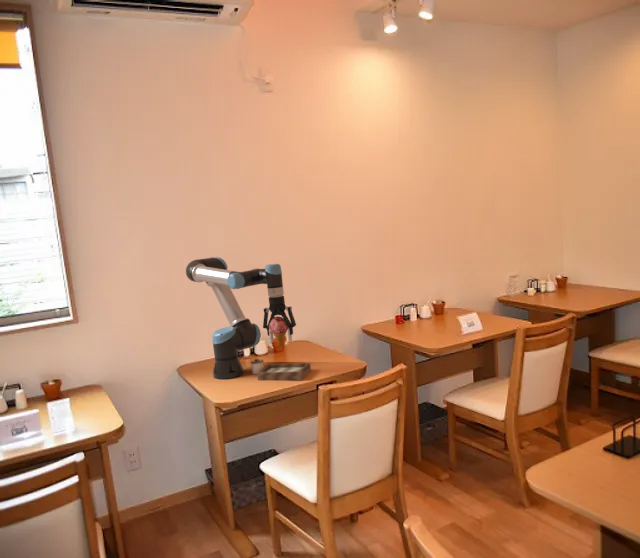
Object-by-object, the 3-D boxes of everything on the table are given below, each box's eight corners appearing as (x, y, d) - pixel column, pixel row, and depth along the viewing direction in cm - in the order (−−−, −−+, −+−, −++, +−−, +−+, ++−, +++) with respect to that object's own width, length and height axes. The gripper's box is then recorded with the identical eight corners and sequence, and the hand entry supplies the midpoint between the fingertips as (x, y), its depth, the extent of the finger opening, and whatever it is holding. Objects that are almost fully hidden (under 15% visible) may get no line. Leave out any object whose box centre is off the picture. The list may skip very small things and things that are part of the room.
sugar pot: (249, 375, 282) (247, 360, 282) (257, 372, 287) (255, 357, 287) (259, 375, 278) (257, 360, 278) (267, 372, 284) (265, 357, 284)
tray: (258, 381, 270) (257, 373, 270) (269, 371, 285) (268, 364, 285) (301, 380, 264) (300, 372, 264) (310, 370, 280) (310, 362, 279)
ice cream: (275, 350, 266) (270, 319, 265) (269, 347, 276) (264, 317, 274) (296, 345, 270) (292, 315, 269) (290, 342, 279) (285, 313, 278)
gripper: (252, 298, 270) (257, 344, 272) (295, 295, 264) (300, 342, 266) (258, 296, 277) (263, 340, 280) (299, 293, 271) (304, 339, 274)
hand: (281, 341), depth 273 cm, fingers closed on ice cream, 9 cm apart
